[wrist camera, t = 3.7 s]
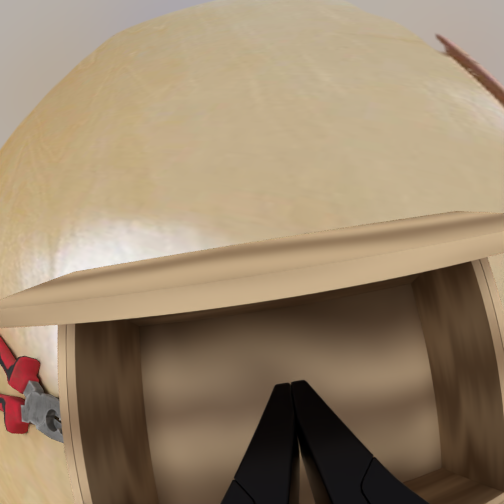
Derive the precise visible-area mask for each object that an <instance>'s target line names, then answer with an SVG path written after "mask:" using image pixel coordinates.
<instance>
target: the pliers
mask: <svg viewBox="0 0 504 504" xmlns="http://www.w3.org/2000/svg"><path fill="white" fill-rule="evenodd" d="M0 364H1V366H2V367H3V369H4V371H5V373H6V375H7V380H8V384H9V385H10V386H11V387H13V388H14V389H16V390H17V391H19V392H20V393H21V394H24V395H25V397H26V399H25V400H24V399H22V398H19V397H15V396H8V395H3V394H0V410H1V411H3V412H4V423H5V426H6V430H7V431H9V432H10V433H16V434H24V433H26V432H27V431H28V424H30V423H33V424H34V425H36V429H38V430H39V431H41V432H42V433H44V434H45V435H46V436H48V437H49V438H51V439H54V440H56V441H59V442H62V443H64V441H63V433H62V424H61V423H59V422H58V421H57V420H56V419H54V418H55V416H57V417H59V421H61V414H60V402H59V399H57V398H56V397H54V396H52V395H49V394H45V393H43V392H44V391H43V388H42V387H41V386H40V384H39V379H38V378H37V375H38V371H39V367H40V363H39V361H38V360H37V359H34V358H30V357H27V356H22V357H19V358H18V359H17V360H16V359H15V358H14V356H13V355H12V353H11V352H10V350H9V349H8V347H7V346H6V344H5V343H4V341H3V340H2V338H1V337H0Z"/></svg>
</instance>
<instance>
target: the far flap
mask: <svg viewBox="0 0 504 504" xmlns="http://www.w3.org/2000/svg"><path fill="white" fill-rule="evenodd" d="M501 253H504V213H489V212H464V211H454V212H447V213H440V214H433V215H426V216H420V217H413V218H406V219H399V220H393V221H386V222H379V223H373V224H366V225H359V226H353V227H346V228H340V229H333V230H327V231H320V232H314V233H307V234H301V235H294V236H288V237H282V238H275V239H269V240H263V241H257V242H250V243H244V244H238V245H232V246H225V247H219V248H213V249H207V250H201V251H195V252H189V253H182V254H176V255H170V256H164V257H158V258H152V259H146V260H140V261H134V262H129V263H123V264H117V265H111V266H105V267H99V268H93V269H87V270H82V271H76V272H72V273H70V274H67V275H64V276H61V277H58V278H56V279H53V280H50V281H48V282H45V283H42V284H40V285H37V286H34V287H32V288H29V289H26V290H24V291H21V292H18V293H16V294H13V295H11V296H8V297H5V298H3V299H0V328H10V327H30V326H46V325H61V324H74V323H86V322H98V321H109V320H120V319H130V318H139V317H149V316H158V315H166V314H175V313H183V312H191V311H199V310H207V309H214V308H221V307H229V306H236V305H243V304H250V303H256V302H263V301H269V300H276V299H282V298H288V297H294V296H300V295H306V294H312V293H318V292H324V291H329V290H335V289H340V288H346V287H351V286H356V285H362V284H367V283H372V282H377V281H382V280H387V279H392V278H397V277H402V276H407V275H411V274H416V273H421V272H425V271H430V270H434V269H439V268H443V267H448V266H452V265H456V264H460V263H465V262H469V261H473V260H477V259H481V258H485V257H489V256H493V255H497V254H501Z"/></svg>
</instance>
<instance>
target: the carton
mask: <svg viewBox="0 0 504 504" xmlns="http://www.w3.org/2000/svg"><path fill="white" fill-rule="evenodd" d="M299 380H306V381H307V382H308V383H309V384H310V386H311V387H312V388H313V389H314V390H315V391H316V392H317V394H318V395H319V396H320V397H321V398H322V399H323V400H324V401H325V403H326V404H327V405H328V406H329V407H330V408H331V409H332V410H333V412H334V413H335V414H336V415H337V416H338V417H339V418H340V419H341V420H342V421H343V423H344V424H345V425H346V426H347V427H348V428H349V429H350V430H351V431H352V432H353V434H354V435H355V436H356V437H357V438H358V439H359V440H360V441H361V442H362V443H363V444H364V445H365V446H366V448H367V449H368V450H369V451H370V452H371V453H372V454H373V455H374V456H373V457H376V458H377V459H378V460H379V461H380V462H381V463H382V464H383V465H384V466H385V467H386V468H387V469H388V470H389V471H390V472H391V473H392V474H393V475H394V476H395V477H396V478H397V479H398V480H400V481H401V482H402V483H403V484H405V485H406V486H407V487H408V488H410V489H411V490H412V491H414V492H415V493H416V494H418V495H419V496H420V497H422V498H423V499H425V500H426V501H427V502H429V503H430V504H504V311H503V307H502V303H501V300H500V296H499V293H498V289H497V286H496V282H495V279H494V276H493V273H492V270H491V267H490V264H489V261H488V258H487V257H485V258H481V259H477V260H473V261H469V262H465V263H460V264H456V265H452V266H448V267H443V268H439V269H434V270H430V271H425V272H421V273H416V274H411V275H407V276H402V277H397V278H392V279H387V280H382V281H377V282H372V283H367V284H362V285H356V286H351V287H346V288H340V289H335V290H329V291H324V292H318V293H312V294H306V295H300V296H294V297H288V298H282V299H276V300H269V301H263V302H256V303H250V304H243V305H236V306H229V307H221V308H214V309H207V310H199V311H191V312H183V313H175V314H166V315H158V316H149V317H139V318H130V319H120V320H109V321H98V322H86V323H74V324H61V325H58V386H59V402H60V414H61V424H62V433H63V441H64V448H65V455H66V461H67V467H68V473H69V478H70V483H71V488H72V493H73V497H74V501H75V504H220V502H221V501H222V499H223V497H224V495H225V493H226V492H227V490H228V488H229V486H230V483H231V481H232V480H234V476H235V473H236V471H237V469H238V467H239V465H240V463H241V461H242V459H243V456H244V454H245V452H246V450H247V448H248V446H249V443H250V441H251V439H252V437H253V435H254V432H255V430H256V428H257V425H258V423H259V421H260V419H261V416H262V414H263V412H264V409H265V407H266V405H267V402H268V400H269V398H270V395H271V393H272V390H273V388H274V386H275V385H276V384H280V383H287V382H288V383H290V385H291V382H293V381H299ZM298 442H299V441H298ZM299 451H300V447H299ZM299 504H315V501H314V497H313V494H312V491H311V487H310V484H309V481H308V477H307V474H306V471H305V467H304V464H303V460H302V457H301V453H300V494H299Z"/></svg>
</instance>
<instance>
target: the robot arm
mask: <svg viewBox="0 0 504 504" xmlns="http://www.w3.org/2000/svg"><path fill="white" fill-rule="evenodd" d="M298 441H299V442H298ZM299 447H300V451H299ZM300 453H301V457H302V460H303V464H304V467H305V471H306V474H307V477H308V481H309V484H310V487H311V491H312V494H313V497H314V501H315V504H430V503H429V502H427V501H426V500H425V499H423V498H422V497H420V496H419V495H418V494H416V493H415V492H414V491H412V490H411V489H410V488H408V487H407V486H406V485H405V484H403V483H402V482H401V481H400V480H398V479H397V478H396V477H395V476H394V475H393V474H392V473H391V472H390V471H389V470H388V469H387V468H386V467H385V466H384V465H383V464H382V463H381V462H380V461H379V460H378V459H377V458H376V457H373V456H374V455H373V454H372V453H371V452H370V451H369V450H368V449H367V448H366V446H365V445H364V444H363V443H362V442H361V441H360V440H359V439H358V438H357V437H356V436H355V435H354V434H353V432H352V431H351V430H350V429H349V428H348V427H347V426H346V425H345V424H344V423H343V421H342V420H341V419H340V418H339V417H338V416H337V415H336V414H335V413H334V412H333V410H332V409H331V408H330V407H329V406H328V405H327V404H326V403H325V401H324V400H323V399H322V398H321V397H320V396H319V395H318V394H317V392H316V391H315V390H314V389H313V388H312V387H311V386H310V384H309V383H308V382H307V381H306V380H299V381H293V382H291V385H290V383H288V382H287V383H280V384H276V385H275V386H274V388H273V390H272V393H271V395H270V398H269V400H268V402H267V405H266V407H265V409H264V412H263V414H262V416H261V419H260V421H259V423H258V425H257V428H256V430H255V432H254V435H253V437H252V439H251V441H250V443H249V446H248V448H247V450H246V452H245V454H244V456H243V459H242V461H241V463H240V465H239V467H238V469H237V471H236V473H235V476H234V480H232V481H231V483H230V486H229V488H228V490H227V492H226V493H225V495H224V497H223V499H222V501H221V502H220V504H299V494H300Z"/></svg>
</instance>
